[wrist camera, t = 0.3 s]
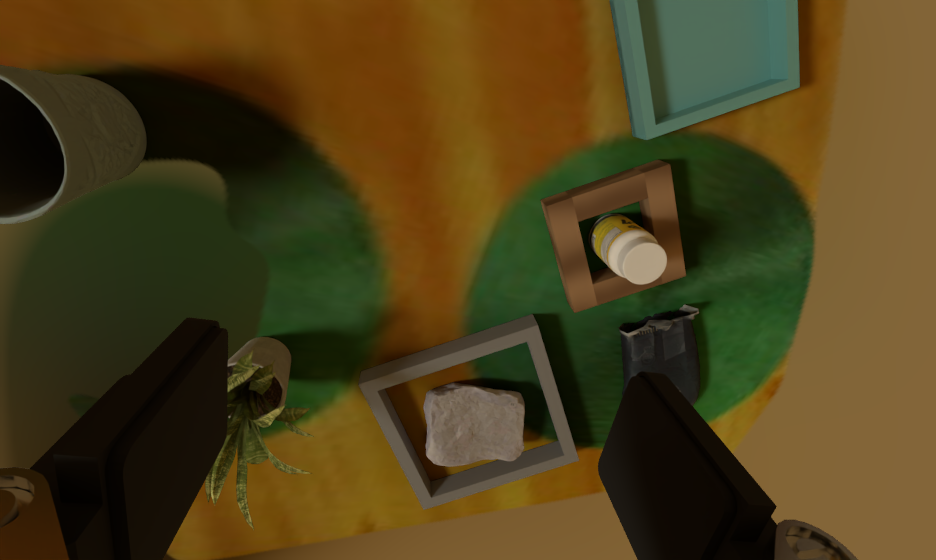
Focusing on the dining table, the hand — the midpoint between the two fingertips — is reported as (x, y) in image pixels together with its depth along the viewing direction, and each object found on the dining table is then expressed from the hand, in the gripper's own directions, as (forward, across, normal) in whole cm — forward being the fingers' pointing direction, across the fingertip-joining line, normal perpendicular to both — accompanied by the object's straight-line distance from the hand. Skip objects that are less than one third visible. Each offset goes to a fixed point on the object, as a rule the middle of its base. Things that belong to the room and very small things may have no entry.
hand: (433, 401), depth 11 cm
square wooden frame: (+36, -20, +4) cm, 42 cm away
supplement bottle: (+36, -20, +4) cm, 42 cm away
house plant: (+37, +12, +24) cm, 46 cm away
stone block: (+37, -10, +28) cm, 48 cm away
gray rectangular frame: (+36, -10, +28) cm, 47 cm away
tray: (+36, -22, -15) cm, 45 cm away
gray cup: (+36, +28, +2) cm, 46 cm away
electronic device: (+37, -31, +19) cm, 52 cm away
